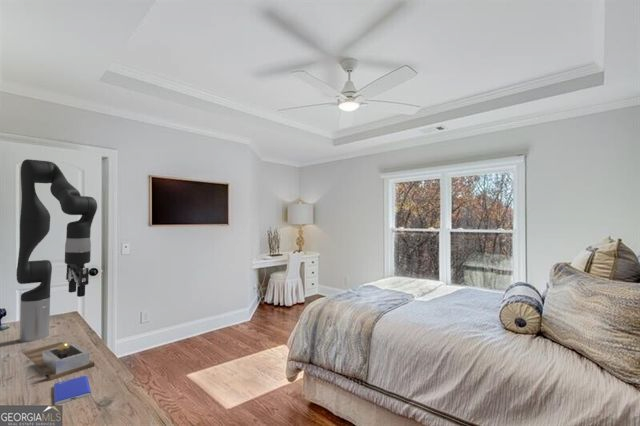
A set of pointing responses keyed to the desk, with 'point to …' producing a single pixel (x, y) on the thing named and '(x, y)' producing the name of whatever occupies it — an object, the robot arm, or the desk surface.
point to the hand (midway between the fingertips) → (76, 294)
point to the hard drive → (71, 389)
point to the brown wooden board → (37, 359)
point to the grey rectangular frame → (65, 359)
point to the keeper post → (62, 350)
